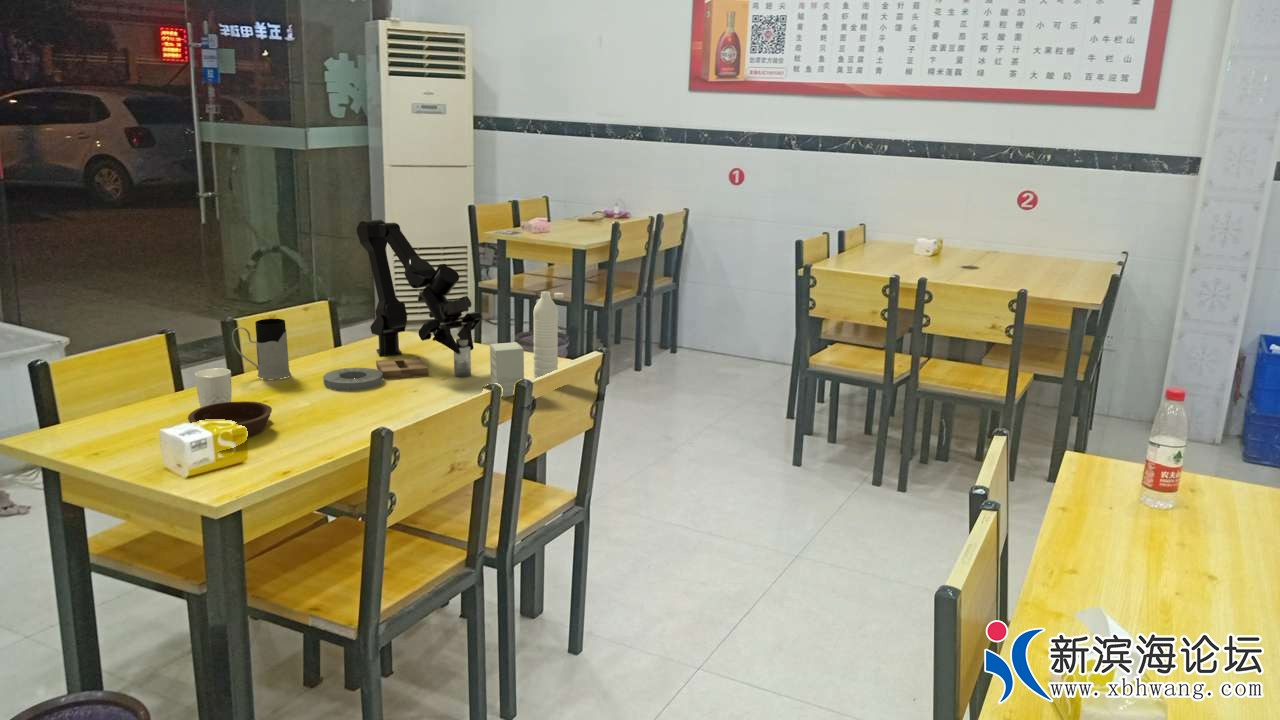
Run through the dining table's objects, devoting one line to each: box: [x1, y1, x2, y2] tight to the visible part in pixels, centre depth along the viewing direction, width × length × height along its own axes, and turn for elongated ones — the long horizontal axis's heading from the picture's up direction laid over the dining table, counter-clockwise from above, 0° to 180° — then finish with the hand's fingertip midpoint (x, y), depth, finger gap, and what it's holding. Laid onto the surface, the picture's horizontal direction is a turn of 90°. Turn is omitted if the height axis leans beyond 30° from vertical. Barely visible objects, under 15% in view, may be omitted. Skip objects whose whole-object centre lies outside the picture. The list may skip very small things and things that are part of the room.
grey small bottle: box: [453, 337, 472, 378], centre depth 279 cm, size 4×4×10 cm
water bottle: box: [532, 290, 565, 379], centre depth 271 cm, size 9×6×25 cm
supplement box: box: [489, 341, 525, 398], centre depth 264 cm, size 7×7×13 cm
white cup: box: [194, 367, 233, 408], centre depth 243 cm, size 8×8×10 cm
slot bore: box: [375, 356, 429, 380], centre depth 282 cm, size 12×12×2 cm
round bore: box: [322, 367, 384, 391], centre depth 271 cm, size 15×15×2 cm
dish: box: [187, 400, 273, 438], centre depth 230 cm, size 17×22×5 cm
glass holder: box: [231, 318, 292, 380], centre depth 273 cm, size 9×14×15 cm, turn 104°
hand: (465, 350), depth 278 cm, fingers closed on grey small bottle, 4 cm apart
